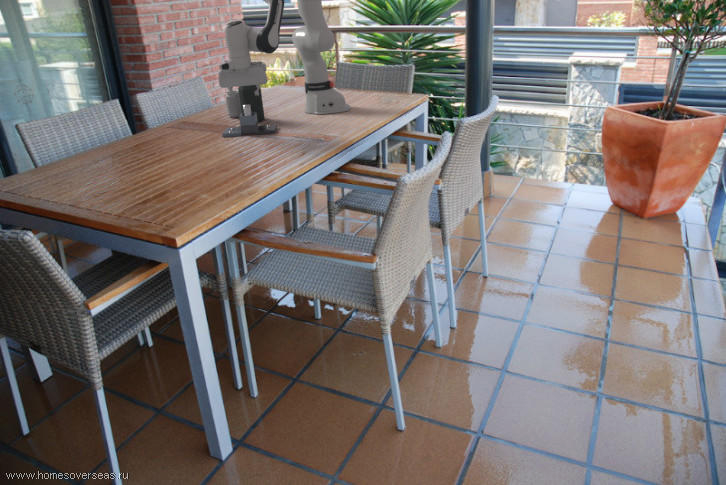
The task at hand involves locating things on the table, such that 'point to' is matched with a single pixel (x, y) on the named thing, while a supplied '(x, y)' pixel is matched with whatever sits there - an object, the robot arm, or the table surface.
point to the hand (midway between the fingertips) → (245, 96)
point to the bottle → (252, 100)
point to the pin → (247, 109)
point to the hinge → (249, 127)
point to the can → (233, 104)
